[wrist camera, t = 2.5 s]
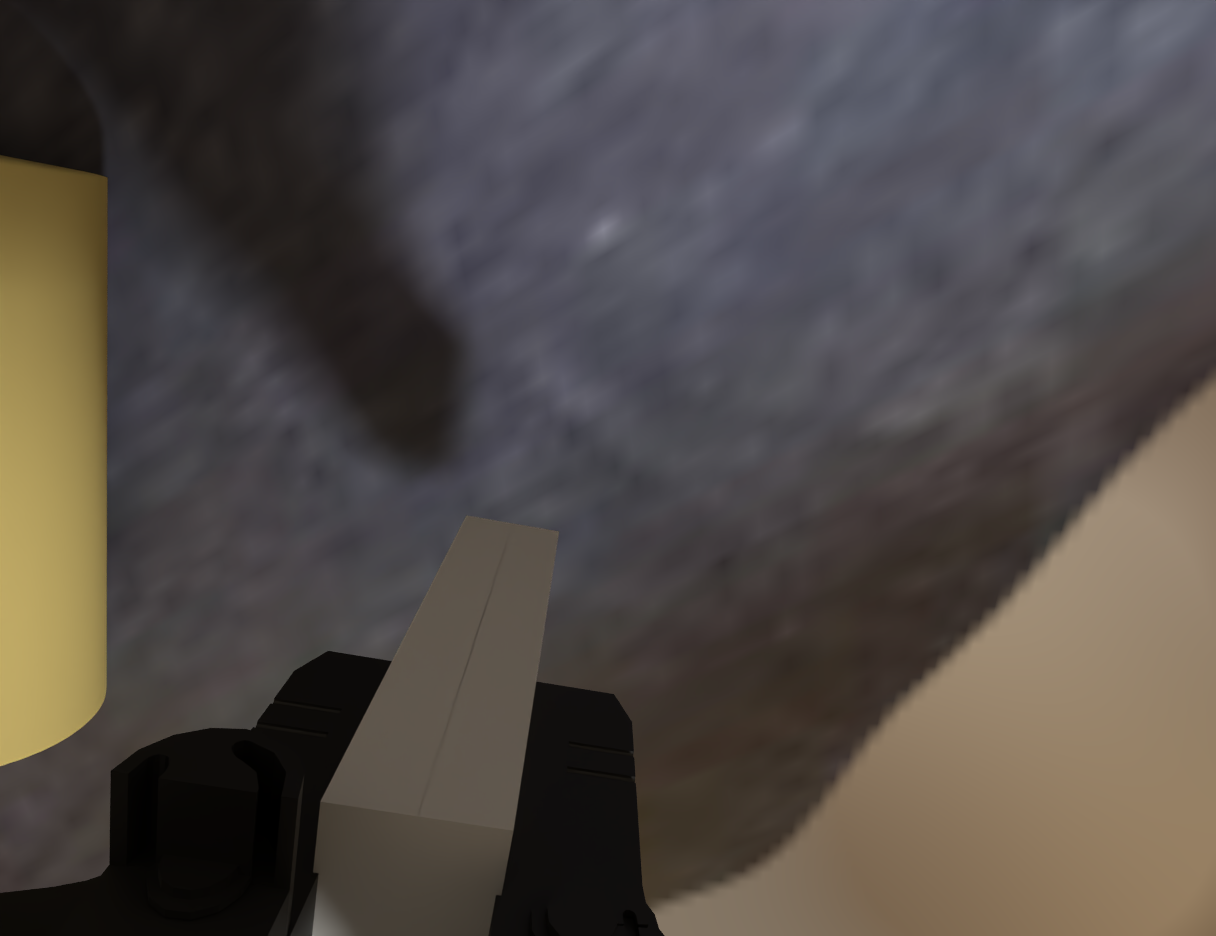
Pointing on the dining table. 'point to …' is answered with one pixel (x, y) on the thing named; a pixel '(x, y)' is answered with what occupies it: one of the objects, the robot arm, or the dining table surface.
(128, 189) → the dining table surface
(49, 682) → the yellow cardboard tube
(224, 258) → the dining table surface
